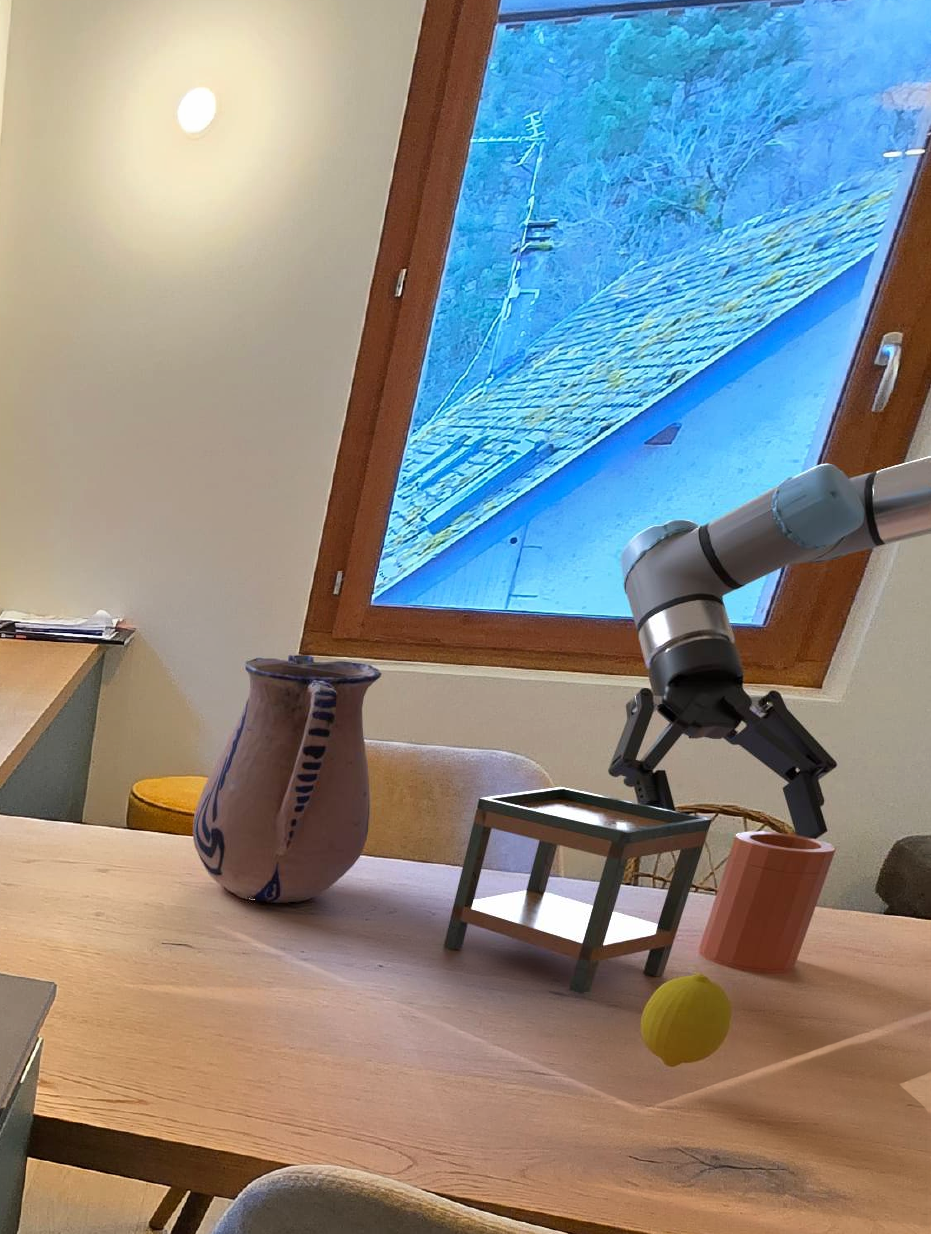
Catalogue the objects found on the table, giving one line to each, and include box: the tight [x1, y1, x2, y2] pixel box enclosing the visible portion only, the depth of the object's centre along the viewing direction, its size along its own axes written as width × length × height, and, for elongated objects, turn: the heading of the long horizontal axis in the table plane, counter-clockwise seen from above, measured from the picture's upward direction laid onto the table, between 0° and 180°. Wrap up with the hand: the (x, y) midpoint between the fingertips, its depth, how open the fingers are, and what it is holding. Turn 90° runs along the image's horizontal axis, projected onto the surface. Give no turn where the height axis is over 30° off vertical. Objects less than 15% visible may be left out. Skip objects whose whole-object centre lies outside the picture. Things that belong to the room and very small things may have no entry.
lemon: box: [640, 972, 732, 1068], centre depth 103 cm, size 6×6×8 cm
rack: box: [443, 786, 713, 995], centre depth 124 cm, size 14×12×15 cm
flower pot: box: [698, 830, 837, 975], centre depth 125 cm, size 7×7×12 cm
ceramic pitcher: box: [192, 654, 382, 904], centre depth 140 cm, size 18×21×25 cm
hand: (740, 836), depth 128 cm, fingers open, 13 cm apart
